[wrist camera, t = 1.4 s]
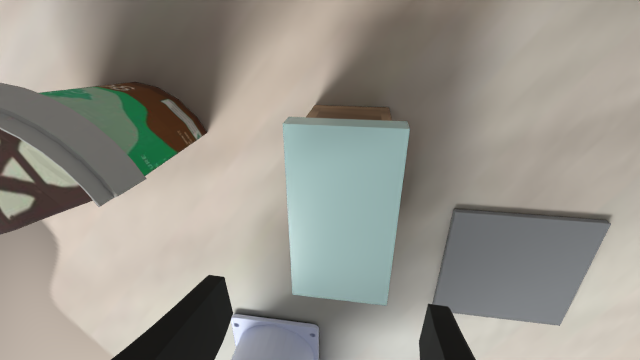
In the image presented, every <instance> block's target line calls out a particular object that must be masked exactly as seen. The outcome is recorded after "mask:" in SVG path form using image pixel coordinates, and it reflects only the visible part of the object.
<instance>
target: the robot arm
mask: <svg viewBox="0 0 640 360" xmlns="http://www.w3.org/2000/svg"><path fill="white" fill-rule="evenodd" d="M232 315H233V311H232V307H231V303H230V299H229V295H228V290H227V286H226V282H225V278H224V277H220V276H213V275H208V276H207V277H206V278H205V279H204V280H203V281H201V282H200V283H199V284H198V285H197V286H196V287H195V288H194V289H193V290H192V291H191V292H190V293H188V294H187V295H186V296H185V297H184V298H183V299H182V300H181V301H180V302H179V303H178V304H177V305H175V306H174V307H173V308H172V309H171V310H170V311H169V312H168V313H166V314H165V315H164V316H163V317H162V318H161V319H160V320H159V321H157V322H156V323H155V324H154V325H153V326H152V327H151V328H149V329H148V330H147V331H146V332H145V333H143V334H142V335H141V336H140V337H139V338H137V339H136V340H135V341H134V342H133V343H131V344H130V345H129V346H128V347H126V348H125V349H124V350H123V351H121V352H120V353H119V354H118V355H116V356H115V357H114V358H112V359H111V360H214V359H215V357H216V355H217V353H218V351H219V349H220V347H221V345H222V343H223V340H224V337H225V335H226V332H227V329H228V326H229V324H230V321H231V323H232V329H233V334H234V339H235V345H236V349H235V351H234V354H233V356H232V359H231V360H319V328H318V326H317V325H315V324H309V323H301V322H293V321H286V320H278V319H270V318H263V317H255V316H248V315H240V314H234V315H233V316H232ZM419 348H420V360H476V359H475V357H474V356H473V354H472V352H471V350H470V348H469V346H468V344H467V342H466V340H465V339H464V337H463V335H462V333H461V331H460V329H459V326H458V324H457V322H456V320H455V318H454V316H453V314H452V311H451V309H450V308H449V307H448V306H442V305H434V304H428V307H427V311H426V315H425V319H424V324H423V328H422V332H421V336H420V340H419Z"/></svg>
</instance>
